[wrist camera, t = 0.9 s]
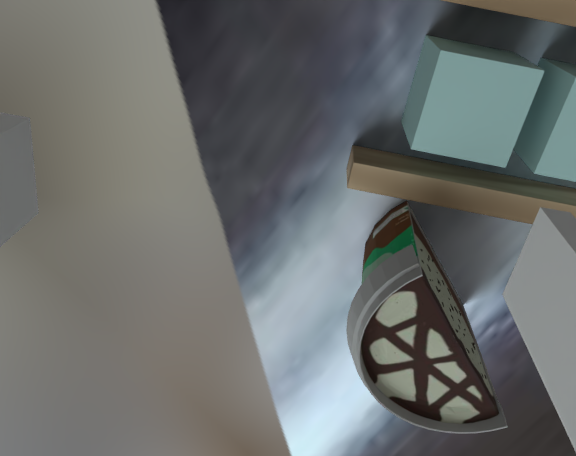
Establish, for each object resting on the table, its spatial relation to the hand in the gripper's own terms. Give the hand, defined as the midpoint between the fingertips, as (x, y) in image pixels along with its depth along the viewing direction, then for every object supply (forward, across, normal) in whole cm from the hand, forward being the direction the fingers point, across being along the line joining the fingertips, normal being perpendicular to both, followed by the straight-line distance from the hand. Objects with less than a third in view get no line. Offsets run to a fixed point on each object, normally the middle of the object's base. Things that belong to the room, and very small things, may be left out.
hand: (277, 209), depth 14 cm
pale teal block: (+19, +8, 0) cm, 21 cm away
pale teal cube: (+19, +15, 0) cm, 24 cm away
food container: (+19, +8, -13) cm, 24 cm away
